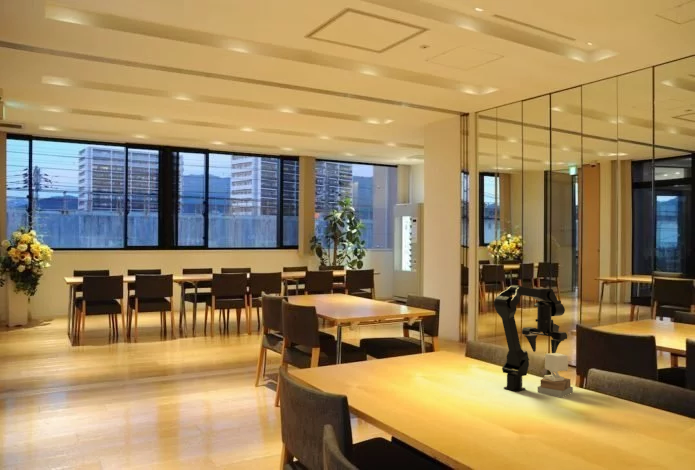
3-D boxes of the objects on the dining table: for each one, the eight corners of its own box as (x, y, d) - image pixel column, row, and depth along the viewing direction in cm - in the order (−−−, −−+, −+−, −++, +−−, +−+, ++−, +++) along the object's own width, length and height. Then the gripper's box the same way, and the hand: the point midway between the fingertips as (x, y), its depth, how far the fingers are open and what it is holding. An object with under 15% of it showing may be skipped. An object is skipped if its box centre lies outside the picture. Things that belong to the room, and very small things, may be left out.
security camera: (567, 380, 229) (568, 355, 229) (555, 381, 225) (556, 356, 225) (555, 376, 234) (555, 352, 234) (543, 378, 231) (543, 353, 231)
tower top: (563, 391, 223) (563, 383, 223) (540, 387, 229) (540, 379, 229) (570, 386, 231) (570, 378, 231) (548, 383, 236) (548, 375, 236)
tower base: (561, 399, 223) (561, 391, 223) (537, 394, 230) (537, 386, 230) (572, 394, 230) (572, 387, 230) (549, 389, 237) (549, 382, 237)
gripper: (574, 318, 243) (574, 355, 242) (536, 313, 257) (535, 348, 257) (560, 320, 236) (559, 357, 236) (521, 315, 250) (520, 350, 250)
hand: (543, 353), depth 245 cm, fingers open, 9 cm apart
